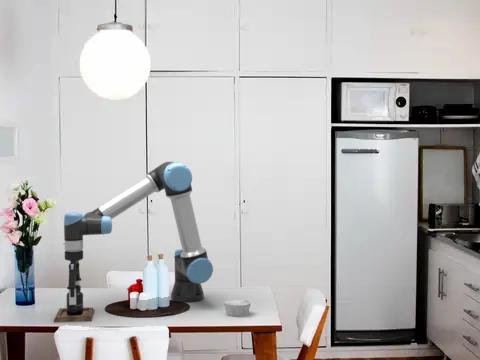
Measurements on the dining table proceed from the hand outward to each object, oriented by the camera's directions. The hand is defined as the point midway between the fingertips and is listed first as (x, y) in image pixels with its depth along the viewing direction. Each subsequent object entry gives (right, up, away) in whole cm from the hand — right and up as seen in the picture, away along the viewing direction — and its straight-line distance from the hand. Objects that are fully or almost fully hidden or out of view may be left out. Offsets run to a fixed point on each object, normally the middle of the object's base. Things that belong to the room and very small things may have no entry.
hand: (74, 300), depth 300 cm
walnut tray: (0, -7, +1) cm, 7 cm away
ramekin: (+68, -7, +6) cm, 68 cm away
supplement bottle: (0, -6, +1) cm, 6 cm away
